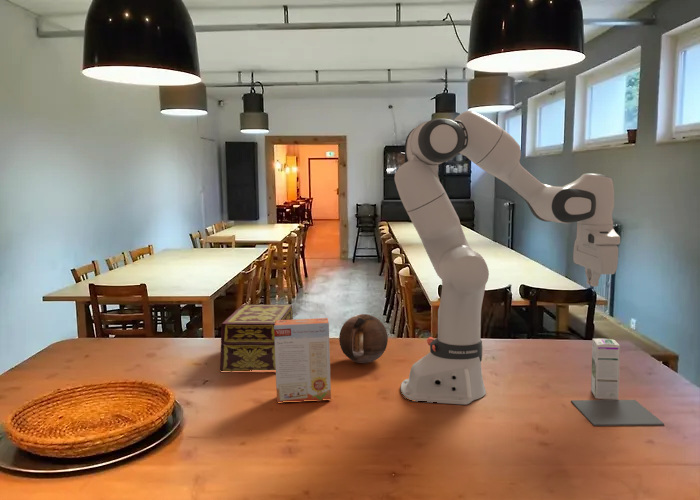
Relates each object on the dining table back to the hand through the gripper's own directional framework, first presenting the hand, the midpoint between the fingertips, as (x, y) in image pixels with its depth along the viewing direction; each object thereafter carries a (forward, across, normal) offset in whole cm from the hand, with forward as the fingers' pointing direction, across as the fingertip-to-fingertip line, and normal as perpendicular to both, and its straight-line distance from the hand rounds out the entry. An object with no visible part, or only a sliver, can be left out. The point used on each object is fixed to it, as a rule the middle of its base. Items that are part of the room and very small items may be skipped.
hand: (592, 285), depth 155 cm
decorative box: (+28, -24, -95) cm, 102 cm away
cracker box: (+27, +10, -78) cm, 83 cm away
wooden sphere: (+27, -19, -62) cm, 70 cm away
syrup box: (+27, +10, 0) cm, 29 cm away
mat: (+27, +21, -2) cm, 34 cm away
